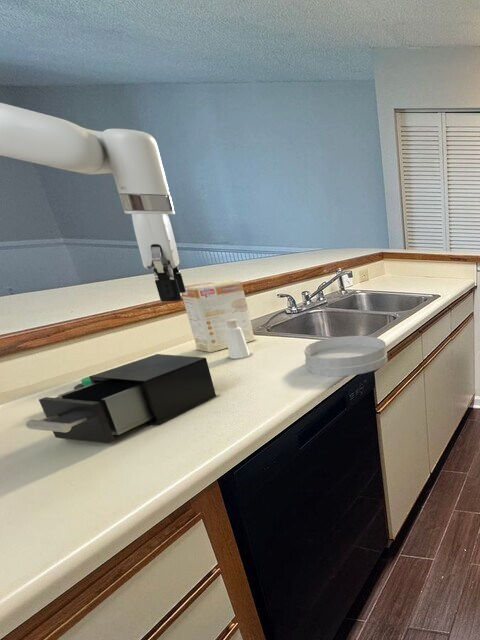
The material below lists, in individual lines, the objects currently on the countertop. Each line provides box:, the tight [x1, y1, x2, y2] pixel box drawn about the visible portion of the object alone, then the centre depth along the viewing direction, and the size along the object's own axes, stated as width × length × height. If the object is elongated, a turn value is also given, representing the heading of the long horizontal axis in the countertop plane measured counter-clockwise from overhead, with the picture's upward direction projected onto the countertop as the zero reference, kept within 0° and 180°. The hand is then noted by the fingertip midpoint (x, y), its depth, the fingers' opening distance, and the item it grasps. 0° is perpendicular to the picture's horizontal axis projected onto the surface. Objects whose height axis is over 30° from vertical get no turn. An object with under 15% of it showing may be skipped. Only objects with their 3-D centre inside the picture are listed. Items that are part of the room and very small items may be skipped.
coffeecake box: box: [180, 279, 256, 353], centre depth 132 cm, size 15×7×20 cm, turn 157°
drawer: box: [25, 381, 154, 444], centre depth 80 cm, size 18×11×8 cm, turn 171°
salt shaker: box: [226, 319, 251, 360], centre depth 123 cm, size 5×5×11 cm
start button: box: [80, 376, 92, 387], centre depth 94 cm, size 4×4×2 cm
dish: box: [303, 335, 388, 377], centre depth 121 cm, size 22×22×5 cm
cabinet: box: [88, 353, 217, 426], centre depth 91 cm, size 15×13×10 cm
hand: (174, 296), depth 86 cm, fingers open, 9 cm apart
